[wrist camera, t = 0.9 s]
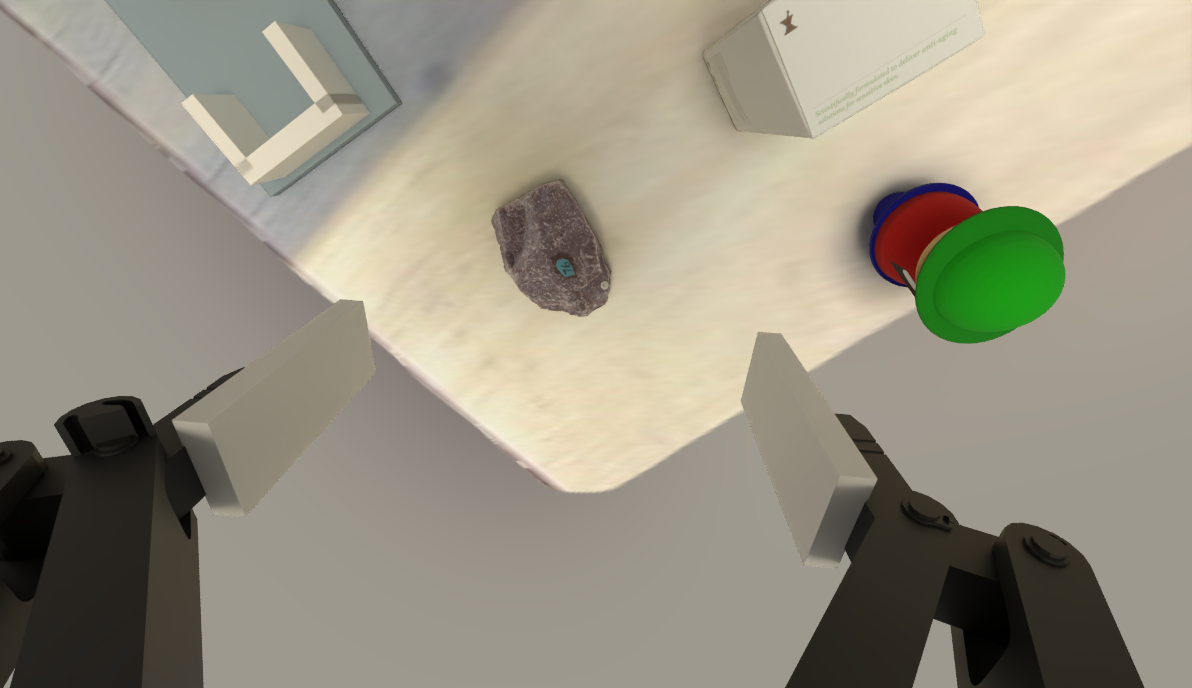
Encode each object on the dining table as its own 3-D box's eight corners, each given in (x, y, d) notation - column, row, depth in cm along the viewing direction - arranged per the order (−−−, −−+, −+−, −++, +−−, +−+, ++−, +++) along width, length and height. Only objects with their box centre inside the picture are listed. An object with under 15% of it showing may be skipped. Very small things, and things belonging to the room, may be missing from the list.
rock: (550, 322, 45) (544, 343, 41) (484, 213, 41) (469, 225, 36) (627, 285, 43) (629, 304, 39) (567, 167, 39) (561, 174, 34)
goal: (224, 103, 36) (181, 103, 33) (311, 29, 34) (274, 20, 30) (284, 177, 39) (250, 185, 35) (370, 113, 36) (342, 114, 33)
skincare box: (735, 132, 37) (805, 151, 23) (697, 47, 34) (749, 10, 20) (842, 65, 34) (993, 41, 20) (809, -31, 32) (955, -133, 18)
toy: (957, 259, 40) (1124, 338, 27) (853, 299, 42) (961, 390, 29) (941, 157, 37) (1125, 189, 23) (829, 206, 39) (938, 260, 25)
